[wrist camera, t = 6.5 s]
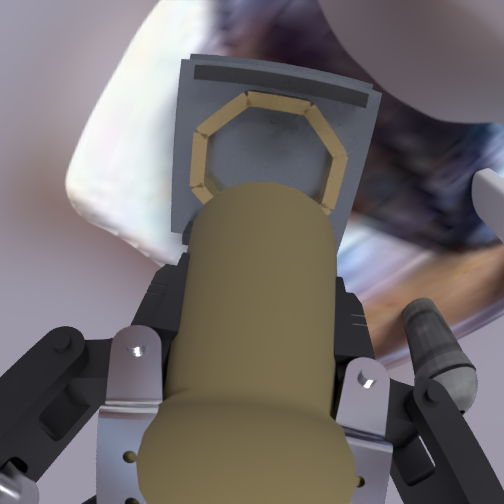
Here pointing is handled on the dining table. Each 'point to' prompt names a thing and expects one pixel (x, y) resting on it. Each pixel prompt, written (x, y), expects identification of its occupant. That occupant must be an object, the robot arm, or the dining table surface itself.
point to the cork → (252, 361)
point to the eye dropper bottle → (489, 199)
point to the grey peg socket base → (268, 134)
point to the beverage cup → (439, 353)
